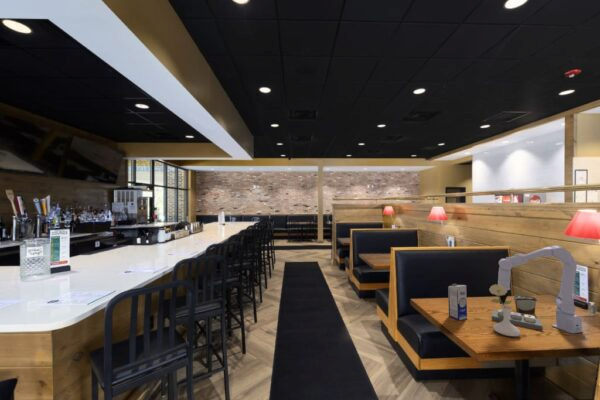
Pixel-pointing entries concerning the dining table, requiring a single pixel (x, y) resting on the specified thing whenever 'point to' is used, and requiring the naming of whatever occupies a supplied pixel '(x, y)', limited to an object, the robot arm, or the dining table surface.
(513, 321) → the keypad
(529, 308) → the food container
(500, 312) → the sage key
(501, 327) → the flower in vase
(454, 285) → the milk carton
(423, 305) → the dining table surface
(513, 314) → the grey key
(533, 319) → the cream key
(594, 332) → the dining table surface
